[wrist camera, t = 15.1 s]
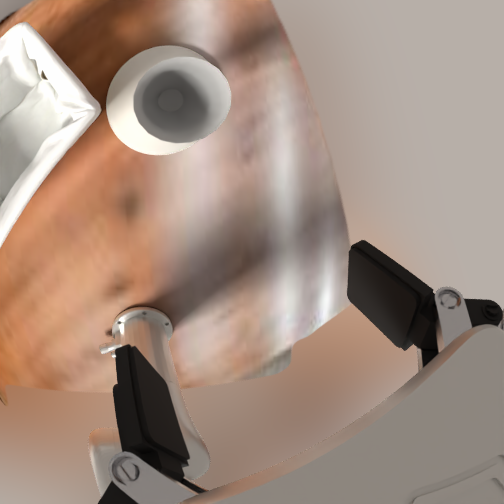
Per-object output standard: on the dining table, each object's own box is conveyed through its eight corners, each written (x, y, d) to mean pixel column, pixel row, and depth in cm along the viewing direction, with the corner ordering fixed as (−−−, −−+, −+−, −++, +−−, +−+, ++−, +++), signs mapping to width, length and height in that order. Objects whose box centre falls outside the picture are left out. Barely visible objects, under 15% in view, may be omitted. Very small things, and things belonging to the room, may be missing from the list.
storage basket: (56, 38, 20) (19, 11, 8) (118, 109, 30) (105, 112, 18) (-38, 164, 20) (-89, 197, 9) (19, 225, 31) (-16, 280, 19)
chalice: (133, 123, 31) (126, 141, 17) (142, 75, 28) (142, 51, 14) (185, 126, 34) (221, 148, 20) (195, 80, 31) (239, 65, 17)
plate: (125, 169, 35) (124, 171, 34) (96, 68, 25) (94, 67, 24) (228, 135, 38) (231, 136, 37) (207, 36, 29) (209, 35, 28)
